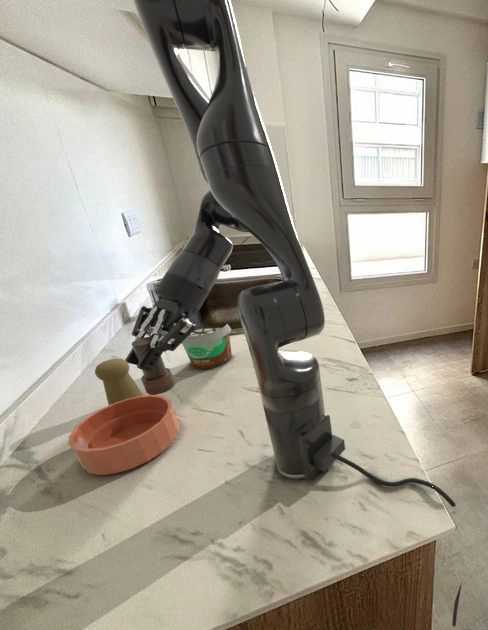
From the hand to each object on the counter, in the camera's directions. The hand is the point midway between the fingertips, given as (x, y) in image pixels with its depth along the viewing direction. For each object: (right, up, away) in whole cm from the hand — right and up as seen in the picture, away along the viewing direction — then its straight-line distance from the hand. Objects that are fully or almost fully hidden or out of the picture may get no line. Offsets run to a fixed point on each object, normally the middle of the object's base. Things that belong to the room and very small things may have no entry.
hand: (137, 366), depth 58 cm
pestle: (+1, -5, +4) cm, 6 cm away
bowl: (-4, -15, +4) cm, 17 cm away
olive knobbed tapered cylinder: (-14, -11, +14) cm, 23 cm away
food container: (-6, -4, +29) cm, 30 cm away
